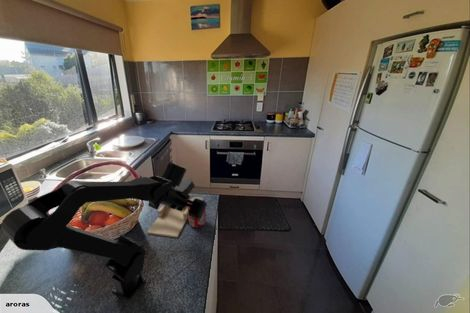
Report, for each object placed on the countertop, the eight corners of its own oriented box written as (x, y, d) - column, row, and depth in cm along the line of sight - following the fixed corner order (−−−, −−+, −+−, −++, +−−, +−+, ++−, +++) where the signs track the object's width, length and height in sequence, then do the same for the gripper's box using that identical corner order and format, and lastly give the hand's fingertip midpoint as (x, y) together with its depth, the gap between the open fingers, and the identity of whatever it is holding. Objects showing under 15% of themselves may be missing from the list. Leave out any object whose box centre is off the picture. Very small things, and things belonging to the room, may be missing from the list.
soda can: (207, 218, 87) (206, 195, 83) (203, 229, 81) (202, 205, 76) (191, 217, 88) (190, 193, 83) (186, 228, 81) (184, 203, 77)
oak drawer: (177, 237, 76) (176, 223, 74) (147, 233, 78) (144, 219, 75) (193, 207, 94) (193, 195, 91) (168, 204, 95) (167, 192, 93)
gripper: (202, 182, 64) (220, 194, 78) (161, 168, 72) (184, 182, 86) (187, 215, 61) (209, 223, 74) (146, 197, 69) (172, 207, 82)
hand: (193, 207), depth 79 cm, fingers open, 9 cm apart
